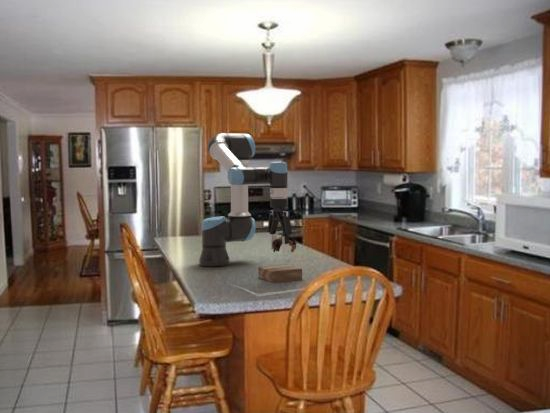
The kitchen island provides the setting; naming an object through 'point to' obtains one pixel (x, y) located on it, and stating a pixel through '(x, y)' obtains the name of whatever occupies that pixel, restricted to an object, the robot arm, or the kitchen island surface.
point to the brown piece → (278, 243)
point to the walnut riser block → (280, 273)
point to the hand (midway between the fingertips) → (279, 250)
